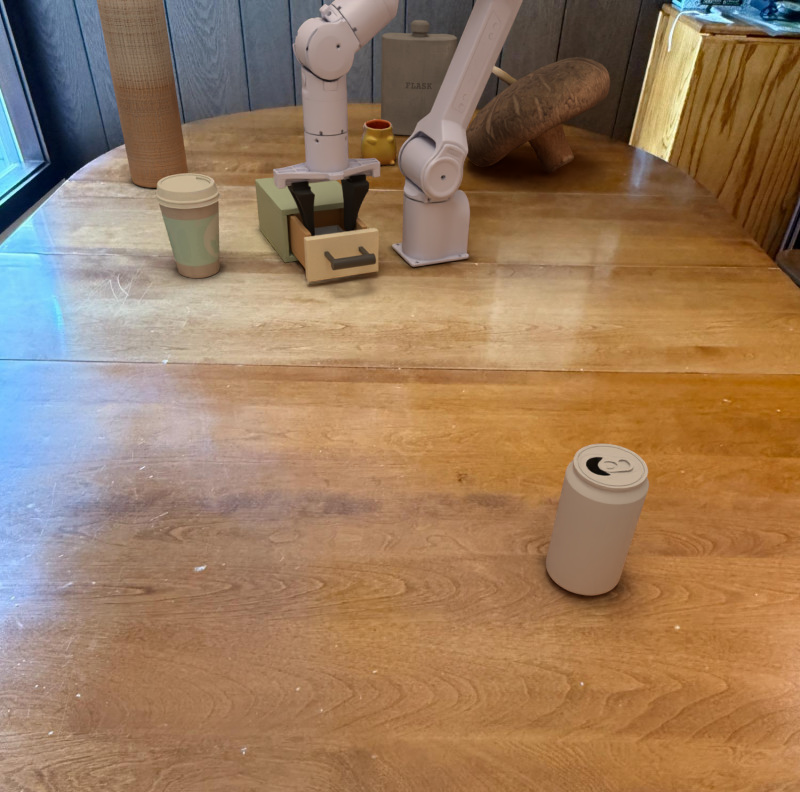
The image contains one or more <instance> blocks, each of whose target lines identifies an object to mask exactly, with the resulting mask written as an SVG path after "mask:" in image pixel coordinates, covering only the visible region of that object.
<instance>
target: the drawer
mask: <svg viewBox="0 0 800 792" xmlns="http://www.w3.org/2000/svg"><path fill="white" fill-rule="evenodd" d="M332 225H339V226H340V227H341V228H342V229H343V230H344V231H345V232H340V233H333V234H325V235H318V236H311V233H310V232H309V231H308V230H307V229H306V228H305V226H304V225H303V221H302V218H301V215H300V213H298V214H290V215H287V227H288V241H289V249H290V250H291V251H292V253H293V254H294V255H295V256H296V258H297V259H298V260H299V261H298V262H299V263H300V264H301V265H302V266H303V268H304V269H305V279H306V280H307V282H308V283H311V282H319V281H324V280H331V279H336V278H344V277H349V276H350V277H351V276H356V275H357V276H358V275H363V274H369V273H375V272H379V239H380V238H379V237H380V236H379V233H380V232H379V230H378V229H377V227H369V228H368V225H367V224H366V223H365V222H364V221H362V219H361V218H359V216H358V217H357V220H356V224H355V229H354V231H346V230H345V229H344V208H338V209H330V210H322V211H314V227H315V228H317V227H325V226H332Z"/></svg>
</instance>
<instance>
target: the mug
mask: <svg viewBox="0 0 800 792" xmlns="http://www.w3.org/2000/svg"><path fill="white" fill-rule="evenodd" d="M360 154H361V157H362V159H369V158H375V159H377V160H378V161H379V162H380V166H387V165H390V166H393V165H395V164H396V162H395V160H396V157H397V141H396V137H395V135H394V133H393V126H392V124H391V123H390V122H389V121H386V120H381V118H380V119H379V118H378V119H377V118H373V119H371V120H367V121H365V122H364V123H363V125H362V134H361V138H360Z"/></svg>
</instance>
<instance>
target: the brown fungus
mask: <svg viewBox="0 0 800 792" xmlns="http://www.w3.org/2000/svg"><path fill="white" fill-rule="evenodd" d="M607 69H608V68H606V67H605V66H604V65H603V64H602V63H600V62H598V61H595V60H593V59H591V58H587V57H581V56H573V57H568V58H564V59H560V60H558V61H555V62H552V63H549V64H546V65H544V66H541V67H540V68H537V69H535V70H533V71H532V72H530V73H529V74H526V75H524V76H522V77H520V78H518V79H516V78H514V77H512V76H511V75H510V74H509V73H507V71H504V70H502V69H501V68H500V67H498V66H496V65H494V68H493V70H492V72H491V74H492V73H493V74H494V75H495V76H496V77H497V78H498V79H499V80H500V81H501V82H504V83H505V84H506V85H507V87H506V88H505V89H503V90H502V91H500V93H498V94H497V95H495V96H494V97H493V98H492V99H490V101H489V102H488V103H487V104H485V105H484V106H483V107H482V108H481V109H480V110H479V111H477V113H476V115H475V117H474V118H473V119H472V121H470V123H469V125H468V127H467V129H466V138H467V145H468V154H467V156H466V158H467V159H469V162H471V163H472V164H473V165H475V166H477V167H480V168H484V167H485V168H486V167H488V166H492V165H494V164H496V163H498V162H500V161H501V160H502V159H504V158H505V157H506V156H507V155H509V154H510V153H511V152H512V151H514V150H516V149H518V148H520V147H522V146H523V145H525V144H526V143H528V144H529V145H530V146H531V148H532V150H533V152H534V154H535V155H536V158H537V160H538V161H539V163H540V165H541V167H542V169H543V170H544V172H545V174H553V173H554V172H556V171H557V170H558V169H559V168H561V167H563V166H565V165H567V164H569V163H571V162H572V161H574V159H575V155H574V153H573V150H572V149H571V146H570V145H569V142H568V139H567V136H566V133H565V131H564V130H565V129H564V126H563V124H565V123H566V122H569V121H570V120H572V119H574V118H577V117H578V116H580V115H582V114H584V113H586V112H588V111H590V110H591V109H592V108H593V107H595V106H596V105H598V104H599V103H601V102H603V101H604V100H605V99H606V98H607V96H608V94H609V92H610V89H611V88H610V87H611V77H610V74H609V72H608V70H607Z"/></svg>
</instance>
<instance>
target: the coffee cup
mask: <svg viewBox="0 0 800 792" xmlns="http://www.w3.org/2000/svg"><path fill="white" fill-rule="evenodd" d="M221 198H222V197H221V193H220V188H218V186H217V184H216V182H215V180H214V178H213V177H211V176H209V175H206V174H201V173H191V172H190V173H189V172H188V173H185V174H176V175H171V176H167V177H164V178H162V179H161V180H159V181H158V183H157V188H156V191H155V202H156V203H157V204H158V205H159V209H160V212H161V216H162V220H163V223H164V226H165V231H166V234H167V237H168V241H169V244H170V248H171V251H172V254H173V259H174V261H175V264H176V269H177V272H178V273H179V275H181V276H183V277H185V278H190V279H203V278H208V277H211V276H214V275H216V274H217V273H219V272H220V266H221V264H220V262H221V261H220V214H219V213H220V209H219V208H220V206H219V205H220V204H219V202H220V201H219V200H220V199H221Z"/></svg>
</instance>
